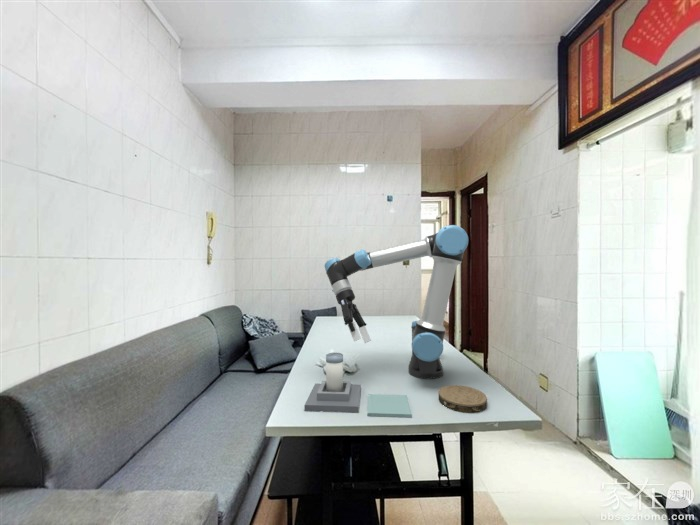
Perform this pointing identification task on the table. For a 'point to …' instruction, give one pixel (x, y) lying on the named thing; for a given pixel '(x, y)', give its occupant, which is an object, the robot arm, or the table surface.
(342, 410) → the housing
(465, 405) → the wood slice coaster
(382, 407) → the mat
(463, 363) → the table surface
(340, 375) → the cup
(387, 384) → the table surface
